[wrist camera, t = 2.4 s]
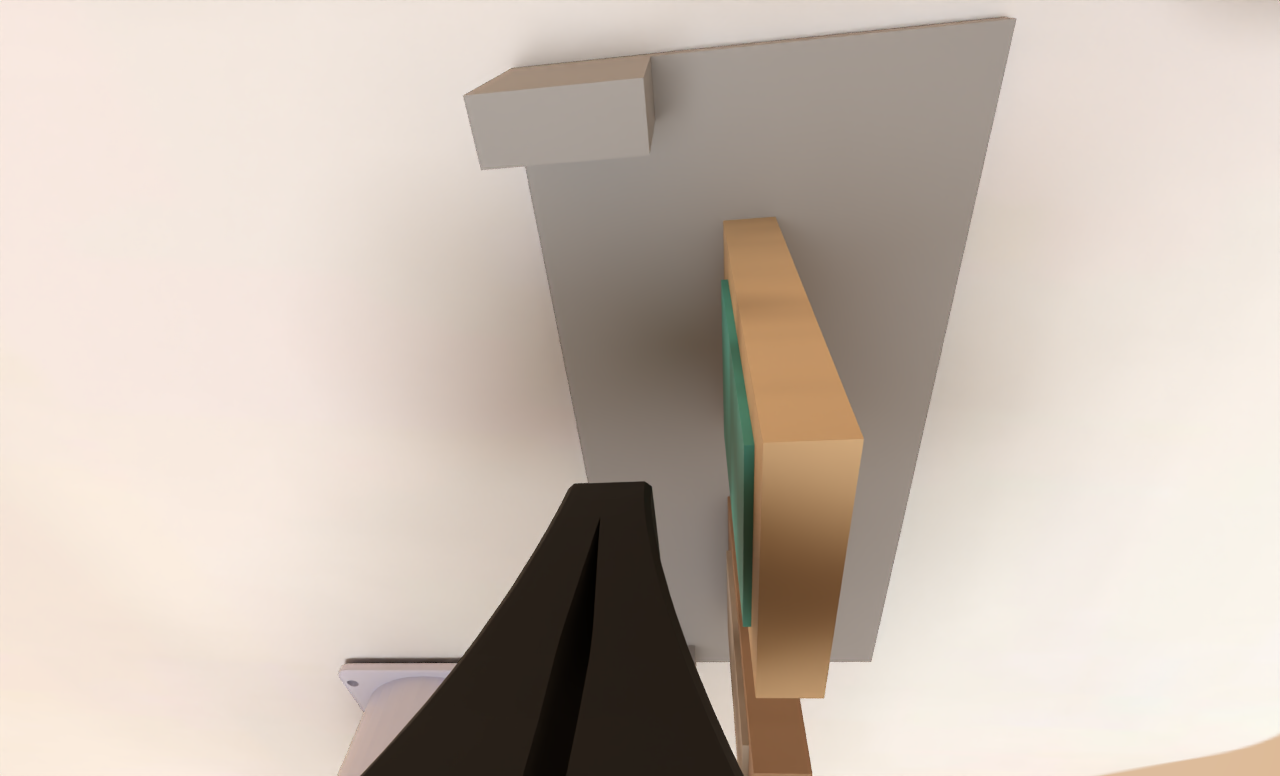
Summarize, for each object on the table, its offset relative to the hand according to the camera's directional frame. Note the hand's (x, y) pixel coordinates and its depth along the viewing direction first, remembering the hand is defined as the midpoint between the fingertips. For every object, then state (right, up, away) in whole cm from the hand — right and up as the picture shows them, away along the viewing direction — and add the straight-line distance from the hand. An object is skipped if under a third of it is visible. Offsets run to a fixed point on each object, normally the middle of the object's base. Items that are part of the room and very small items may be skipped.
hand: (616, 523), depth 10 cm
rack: (+4, 0, +8) cm, 9 cm away
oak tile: (+3, +4, +5) cm, 7 cm away
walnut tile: (+4, -4, +10) cm, 11 cm away
